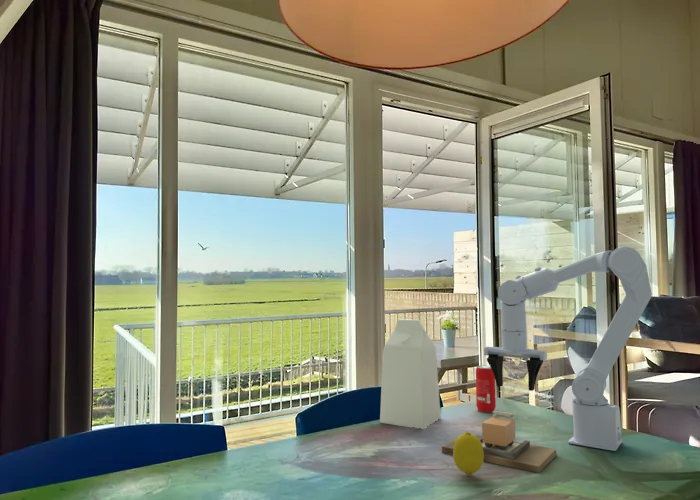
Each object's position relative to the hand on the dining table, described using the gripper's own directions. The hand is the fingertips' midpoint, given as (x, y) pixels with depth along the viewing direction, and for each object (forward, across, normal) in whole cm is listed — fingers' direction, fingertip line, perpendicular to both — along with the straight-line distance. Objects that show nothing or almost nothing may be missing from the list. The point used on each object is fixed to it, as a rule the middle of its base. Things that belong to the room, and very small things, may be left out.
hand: (515, 388), depth 122 cm
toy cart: (+9, +2, -16) cm, 19 cm away
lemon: (+11, +2, -32) cm, 34 cm away
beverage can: (+11, -14, +16) cm, 24 cm away
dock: (+10, +2, -17) cm, 20 cm away
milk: (+11, -26, -5) cm, 29 cm away
